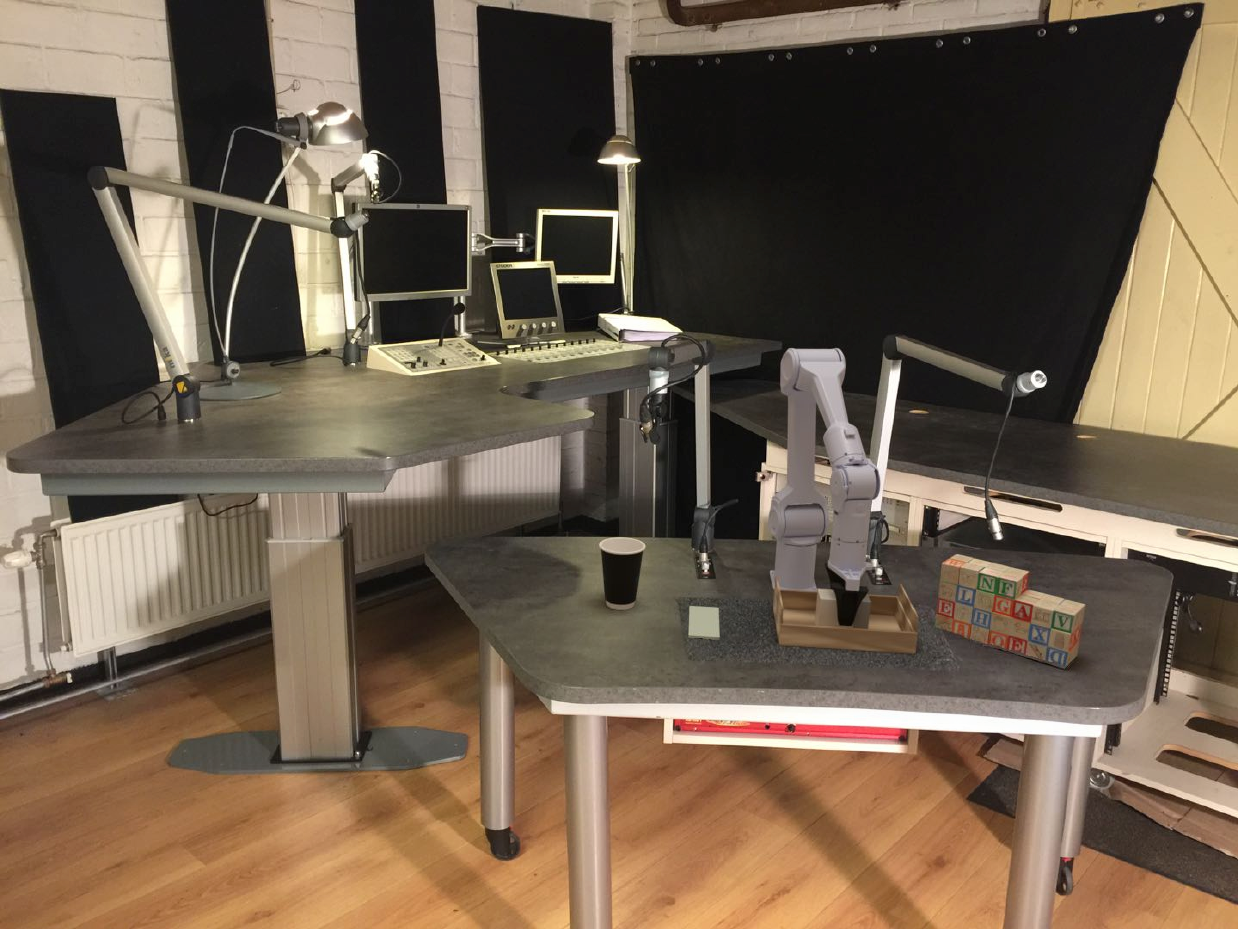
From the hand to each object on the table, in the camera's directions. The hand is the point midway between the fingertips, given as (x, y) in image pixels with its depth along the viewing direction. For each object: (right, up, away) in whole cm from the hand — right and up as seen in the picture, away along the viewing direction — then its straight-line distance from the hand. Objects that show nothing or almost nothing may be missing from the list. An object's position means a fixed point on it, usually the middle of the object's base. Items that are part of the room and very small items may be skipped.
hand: (842, 615), depth 164 cm
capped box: (0, -2, +1) cm, 2 cm away
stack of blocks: (+26, -5, -1) cm, 27 cm away
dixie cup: (-36, 0, +9) cm, 38 cm away
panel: (-19, -2, +2) cm, 19 cm away
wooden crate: (0, -3, +1) cm, 3 cm away
